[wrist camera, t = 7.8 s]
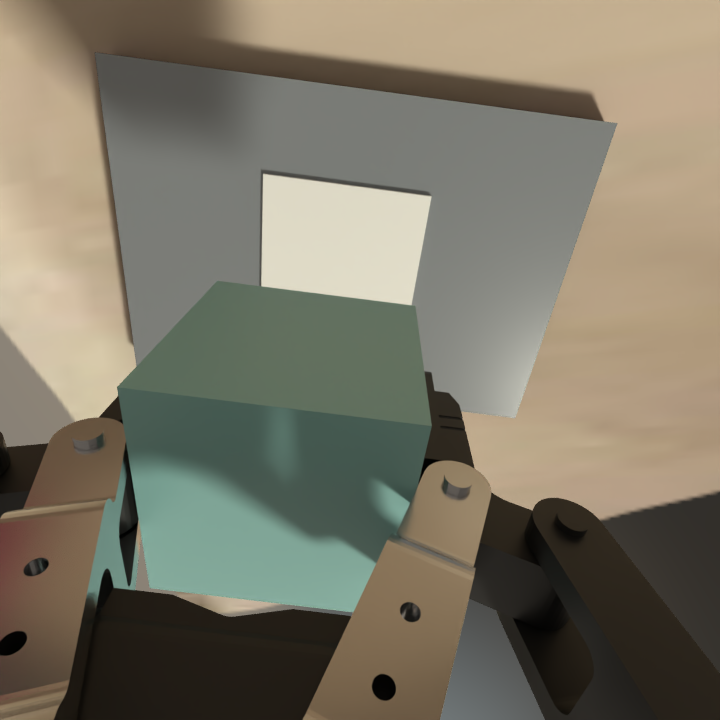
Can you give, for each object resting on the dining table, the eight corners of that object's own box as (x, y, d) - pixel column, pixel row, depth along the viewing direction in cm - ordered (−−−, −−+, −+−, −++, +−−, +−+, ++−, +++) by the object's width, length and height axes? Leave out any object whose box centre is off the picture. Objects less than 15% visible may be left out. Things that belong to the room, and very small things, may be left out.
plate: (110, 54, 19) (91, 51, 18) (604, 121, 19) (619, 123, 18) (147, 358, 26) (135, 371, 24) (510, 405, 26) (516, 420, 25)
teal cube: (217, 280, 12) (117, 387, 7) (415, 305, 12) (431, 425, 7) (223, 438, 14) (149, 587, 10) (387, 458, 14) (387, 616, 10)
